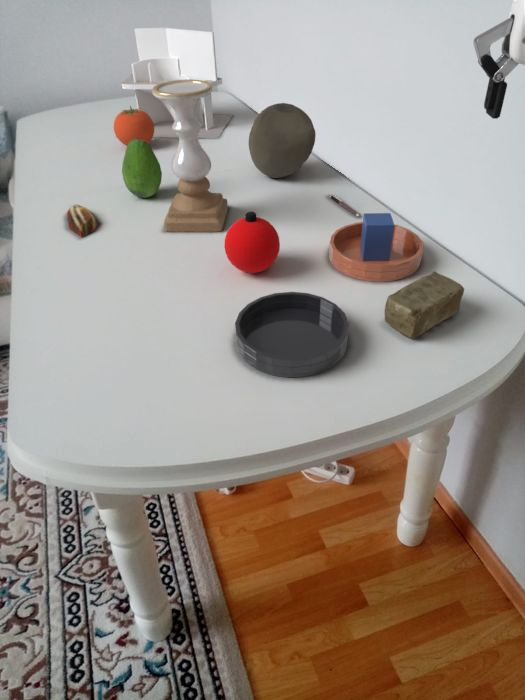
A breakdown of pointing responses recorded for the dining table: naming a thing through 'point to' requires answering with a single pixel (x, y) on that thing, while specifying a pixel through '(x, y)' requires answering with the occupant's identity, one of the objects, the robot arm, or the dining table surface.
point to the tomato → (133, 126)
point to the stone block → (423, 304)
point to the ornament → (252, 244)
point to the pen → (343, 205)
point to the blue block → (376, 236)
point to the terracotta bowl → (351, 263)
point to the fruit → (141, 169)
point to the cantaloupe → (281, 140)
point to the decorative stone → (81, 220)
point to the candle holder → (191, 162)
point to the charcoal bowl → (291, 334)
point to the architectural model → (174, 75)
